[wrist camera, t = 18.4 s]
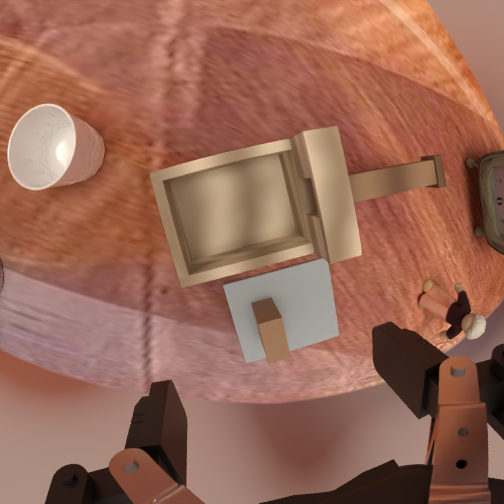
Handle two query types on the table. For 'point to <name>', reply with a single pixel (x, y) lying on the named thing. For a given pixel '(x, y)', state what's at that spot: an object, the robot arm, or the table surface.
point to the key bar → (398, 178)
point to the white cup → (53, 149)
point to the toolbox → (258, 207)
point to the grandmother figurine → (452, 311)
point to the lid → (283, 310)
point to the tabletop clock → (491, 197)
